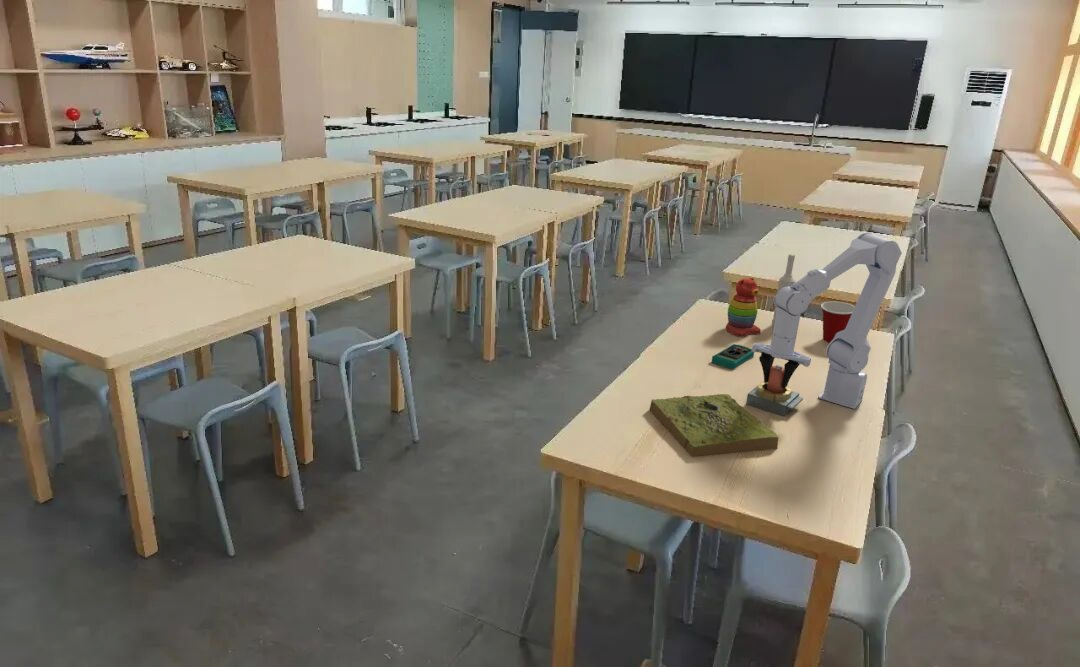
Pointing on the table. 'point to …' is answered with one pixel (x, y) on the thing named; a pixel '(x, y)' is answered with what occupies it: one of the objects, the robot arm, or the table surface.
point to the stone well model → (773, 399)
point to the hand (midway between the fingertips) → (775, 384)
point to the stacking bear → (743, 309)
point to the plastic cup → (835, 318)
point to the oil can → (775, 379)
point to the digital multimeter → (733, 356)
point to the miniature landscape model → (712, 425)
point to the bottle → (786, 279)
